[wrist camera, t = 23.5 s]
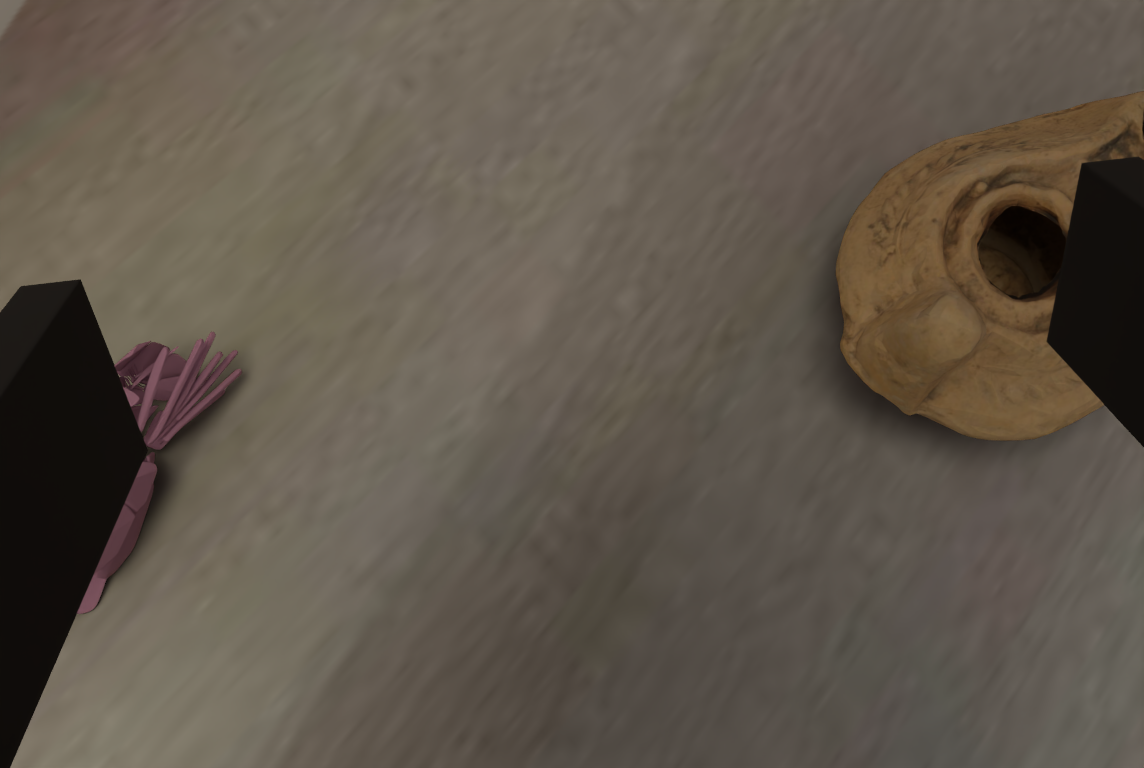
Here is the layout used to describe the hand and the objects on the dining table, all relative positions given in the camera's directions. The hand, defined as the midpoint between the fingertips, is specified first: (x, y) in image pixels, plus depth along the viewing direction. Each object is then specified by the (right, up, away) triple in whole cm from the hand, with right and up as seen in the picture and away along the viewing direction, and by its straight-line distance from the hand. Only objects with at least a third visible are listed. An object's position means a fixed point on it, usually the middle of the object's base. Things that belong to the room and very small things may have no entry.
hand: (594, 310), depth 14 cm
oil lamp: (+16, +3, +26) cm, 30 cm away
